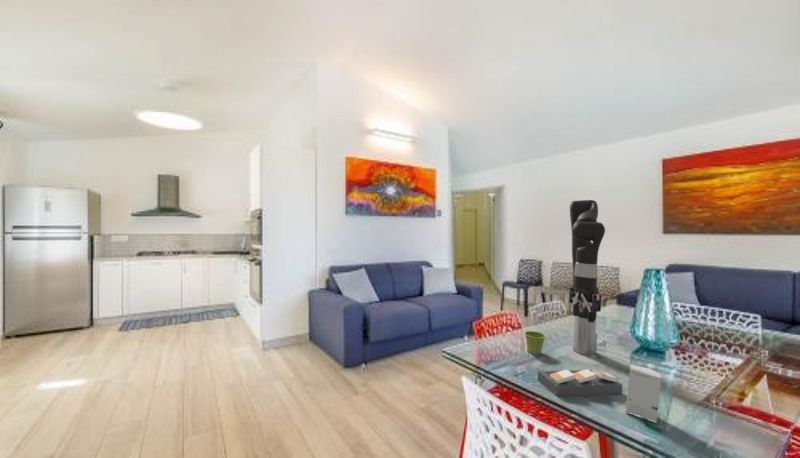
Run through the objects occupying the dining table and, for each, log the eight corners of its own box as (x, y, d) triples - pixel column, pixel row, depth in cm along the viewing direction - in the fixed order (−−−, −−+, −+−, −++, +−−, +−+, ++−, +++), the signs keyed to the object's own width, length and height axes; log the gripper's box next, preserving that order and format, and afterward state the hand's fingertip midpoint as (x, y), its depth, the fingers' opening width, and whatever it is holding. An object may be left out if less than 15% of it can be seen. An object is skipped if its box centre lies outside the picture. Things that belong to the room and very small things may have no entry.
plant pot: (547, 357, 151) (548, 338, 151) (525, 354, 153) (526, 336, 153) (542, 349, 160) (543, 332, 160) (522, 347, 162) (523, 330, 162)
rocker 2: (587, 372, 124) (587, 368, 124) (596, 377, 120) (595, 374, 119) (571, 377, 123) (570, 373, 123) (579, 383, 119) (578, 379, 118)
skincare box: (625, 413, 107) (628, 368, 106) (627, 406, 111) (630, 363, 111) (658, 425, 101) (661, 377, 101) (659, 416, 106) (661, 371, 106)
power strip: (610, 378, 132) (611, 367, 132) (636, 393, 121) (637, 381, 120) (537, 379, 128) (538, 368, 128) (556, 396, 116) (557, 383, 116)
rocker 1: (567, 372, 123) (566, 369, 123) (575, 378, 118) (574, 374, 118) (550, 378, 122) (549, 374, 122) (557, 383, 117) (557, 379, 117)
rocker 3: (607, 376, 125) (608, 372, 125) (616, 382, 121) (617, 378, 121) (591, 372, 124) (593, 368, 124) (600, 377, 120) (601, 373, 120)
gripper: (609, 278, 116) (606, 324, 116) (581, 272, 130) (579, 313, 130) (590, 278, 115) (587, 324, 115) (564, 272, 129) (562, 313, 129)
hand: (583, 318), depth 122 cm, fingers open, 7 cm apart
